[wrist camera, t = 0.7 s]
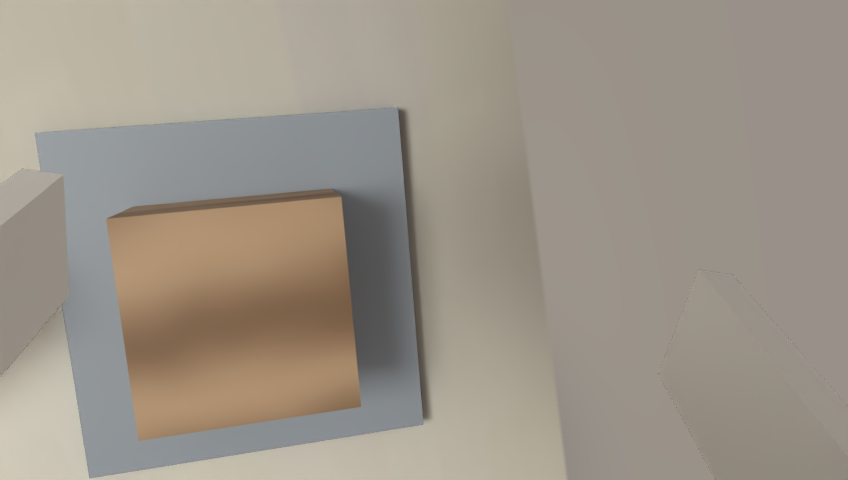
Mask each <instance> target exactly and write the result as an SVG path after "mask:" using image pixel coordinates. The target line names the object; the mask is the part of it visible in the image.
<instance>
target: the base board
mask: <svg viewBox="0 0 848 480" xmlns="http://www.w3.org/2000/svg"><path fill="white" fill-rule="evenodd" d="M35 138H36V144H37V150H38V157H39V163H40V169H41V171H44V172H50V173H57V174H64V196H65V218H66V240H67V262H68V284H69V296H68V297H67V298H66V299H65V301H64V302H63V303H62V308H63V315H64V321H65V327H66V334H67V340H68V346H69V352H70V359H71V365H72V371H73V378H74V384H75V390H76V397H77V403H78V409H79V416H80V422H81V428H82V435H83V441H84V447H85V454H86V460H87V466H88V472H89V478H95V477H101V476H107V475H113V474H120V473H126V472H132V471H138V470H144V469H151V468H157V467H163V466H169V465H176V464H182V463H188V462H194V461H200V460H207V459H213V458H219V457H225V456H231V455H238V454H244V453H250V452H256V451H263V450H269V449H275V448H281V447H287V446H294V445H300V444H306V443H312V442H318V441H325V440H331V439H337V438H343V437H349V436H356V435H362V434H368V433H374V432H381V431H387V430H393V429H399V428H405V427H412V426H418V425H423V413H422V400H421V388H420V376H419V363H418V351H417V338H416V326H415V313H414V301H413V289H412V276H411V264H410V251H409V239H408V226H407V214H406V202H405V189H404V177H403V164H402V152H401V139H400V127H399V115H398V108H384V109H369V110H355V111H341V112H326V113H312V114H298V115H283V116H269V117H255V118H240V119H226V120H212V121H197V122H183V123H169V124H154V125H140V126H126V127H111V128H97V129H83V130H68V131H54V132H40V133H35ZM320 189H332V190H333V191H334V192H336V193H337V194H338V195H340V196H341V198H342V209H343V220H344V230H345V241H346V251H347V262H348V273H349V283H350V294H351V304H352V315H353V326H354V336H355V347H356V358H357V368H358V379H359V389H360V400H361V407H357V408H351V409H344V410H338V411H331V412H325V413H318V414H312V415H305V416H299V417H292V418H286V419H279V420H273V421H266V422H260V423H253V424H246V425H240V426H233V427H227V428H220V429H214V430H207V431H201V432H194V433H188V434H181V435H175V436H168V437H162V438H155V439H149V440H142V441H138V435H137V428H136V421H135V414H134V407H133V400H132V393H131V387H130V380H129V373H128V366H127V359H126V352H125V345H124V339H123V332H122V325H121V318H120V311H119V304H118V297H117V291H116V284H115V277H114V270H113V263H112V256H111V249H110V243H109V236H108V229H107V222H106V219H107V218H109V217H111V216H113V215H116V214H118V213H120V212H122V211H124V210H126V209H129V208H131V207H133V206H144V205H155V204H166V203H177V202H188V201H199V200H210V199H221V198H232V197H243V196H254V195H265V194H276V193H287V192H298V191H309V190H320Z"/></svg>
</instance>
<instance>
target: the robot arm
mask: <svg viewBox="0 0 848 480" xmlns="http://www.w3.org/2000/svg"><path fill="white" fill-rule="evenodd" d="M68 296H69V284H68V262H67V240H66V218H65V196H64V174H57V173H50V172H44V171H37V170H30V169H24V168H22V169H21V170H20V171H18V172H17V173H15V174H14V175H13V176H11V177H10V178H8V179H7V180H6V181H4V182H3V183H1V184H0V377H1V376H2V375H3V374H4V372H5V371H6V370H7V369H8V368H9V366H10V365H11V364H12V363H13V362H14V360H15V359H16V358H17V357H18V356H19V354H20V353H21V352H22V351H23V350H24V348H25V347H26V346H27V345H28V344H29V342H30V341H31V340H32V339H33V338H34V336H35V335H36V334H37V333H38V332H39V331H40V329H41V328H42V327H43V326H44V325H45V323H46V322H47V321H48V320H49V319H50V317H51V316H52V315H53V314H54V313H55V311H56V310H57V309H58V308H59V307H60V305H61V304H62V303H63V302H64V301H65V299H66V298H67V297H68ZM658 374H659V376H660V378H661V380H662V382H663V384H664V385H665V387H666V389H667V391H668V393H669V395H670V396H671V398H672V400H673V402H674V404H675V406H676V408H677V409H678V411H679V413H680V415H681V417H682V419H683V421H684V422H685V424H686V426H687V428H688V430H689V432H690V434H691V436H692V437H693V439H694V441H695V443H696V445H697V447H698V449H699V450H700V452H701V454H702V456H703V458H704V460H705V461H706V463H707V465H708V467H709V469H710V471H711V473H712V474H713V476H714V478H715V480H848V406H847V404H846V403H845V402H844V401H843V400H842V399H841V398H840V396H839V395H838V394H837V393H836V392H835V391H834V390H833V389H832V388H831V386H830V385H829V384H828V383H827V382H826V381H825V379H824V378H823V377H822V376H821V375H820V374H819V373H818V371H817V370H816V369H815V368H814V367H813V366H812V365H811V363H810V362H809V361H808V360H807V359H806V358H805V357H804V355H803V354H802V353H801V352H800V351H799V350H798V349H797V348H796V346H795V345H794V344H793V343H792V342H791V341H790V340H789V338H788V337H787V336H786V335H785V334H784V333H783V332H782V330H781V329H780V328H779V327H778V326H777V325H776V324H775V322H774V321H773V320H772V319H771V318H770V317H769V316H768V314H767V313H766V312H765V311H764V310H763V309H762V308H761V307H760V305H759V304H758V303H757V302H756V301H755V300H754V299H753V297H752V296H751V295H750V294H749V293H748V292H747V291H746V289H745V288H744V287H743V286H742V285H741V284H740V283H739V281H738V280H737V279H736V278H735V277H734V276H733V275H732V274H726V273H718V272H712V271H706V270H699V271H698V273H697V276H696V278H695V281H694V283H693V286H692V288H691V291H690V293H689V296H688V298H687V301H686V304H685V306H684V309H683V311H682V314H681V317H680V319H679V321H678V324H677V326H676V329H675V332H674V334H673V337H672V339H671V342H670V344H669V347H668V349H667V352H666V355H665V357H664V360H663V362H662V365H661V367H660V370H659V373H658Z"/></svg>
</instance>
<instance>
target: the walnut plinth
mask: <svg viewBox="0 0 848 480" xmlns="http://www.w3.org/2000/svg"><path fill="white" fill-rule="evenodd" d="M106 222H107V229H108V236H109V243H110V249H111V256H112V263H113V270H114V277H115V284H116V291H117V297H118V304H119V311H120V318H121V325H122V332H123V339H124V345H125V352H126V359H127V366H128V373H129V380H130V387H131V393H132V400H133V407H134V414H135V421H136V428H137V435H138V441H142V440H149V439H155V438H162V437H168V436H175V435H181V434H188V433H194V432H201V431H207V430H214V429H220V428H227V427H233V426H240V425H246V424H253V423H260V422H266V421H273V420H279V419H286V418H292V417H299V416H305V415H312V414H318V413H325V412H331V411H338V410H344V409H351V408H357V407H361V400H360V389H359V379H358V368H357V358H356V347H355V336H354V326H353V315H352V304H351V294H350V283H349V273H348V262H347V251H346V241H345V230H344V220H343V209H342V198H341V196H340V195H338V194H337V193H336V192H334V191H333V190H332V189H320V190H309V191H298V192H287V193H276V194H265V195H254V196H243V197H232V198H221V199H210V200H199V201H188V202H177V203H166V204H155V205H144V206H133V207H131V208H129V209H126V210H124V211H122V212H120V213H118V214H116V215H113V216H111V217H109V218H107V219H106Z"/></svg>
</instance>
